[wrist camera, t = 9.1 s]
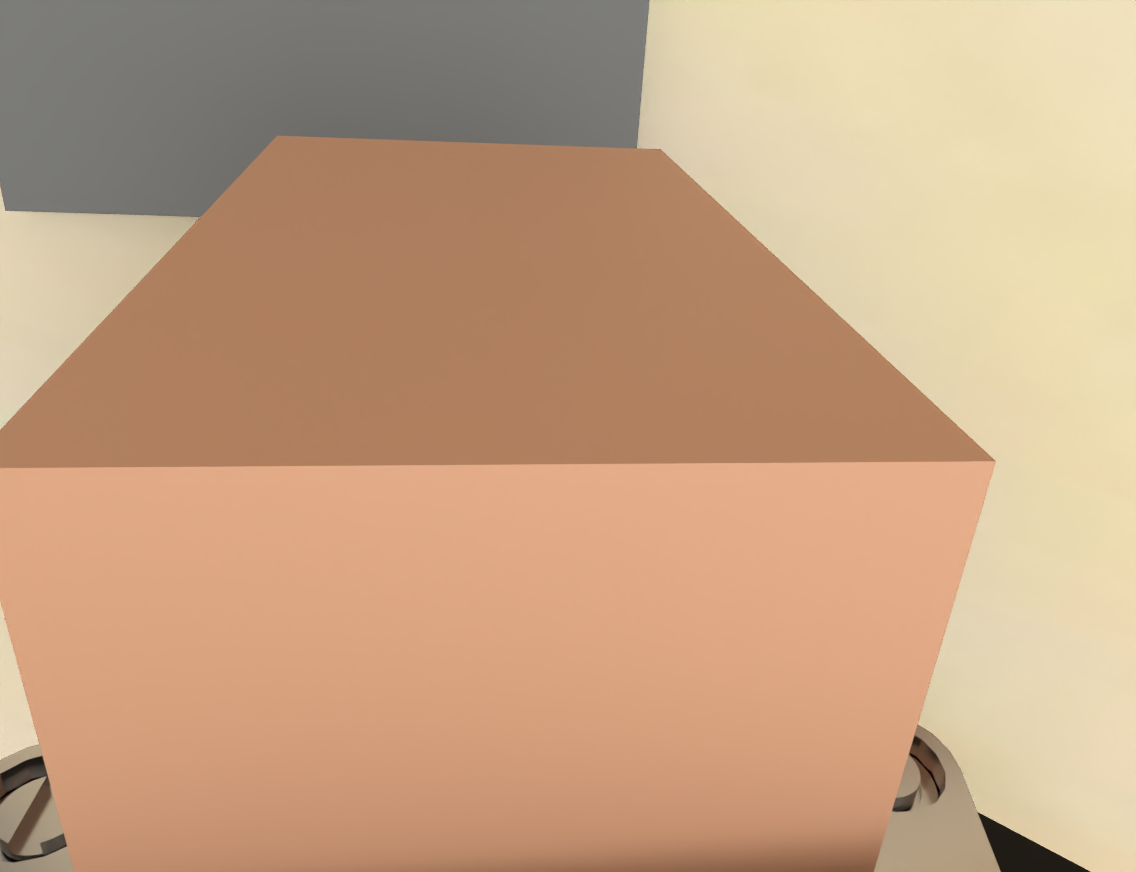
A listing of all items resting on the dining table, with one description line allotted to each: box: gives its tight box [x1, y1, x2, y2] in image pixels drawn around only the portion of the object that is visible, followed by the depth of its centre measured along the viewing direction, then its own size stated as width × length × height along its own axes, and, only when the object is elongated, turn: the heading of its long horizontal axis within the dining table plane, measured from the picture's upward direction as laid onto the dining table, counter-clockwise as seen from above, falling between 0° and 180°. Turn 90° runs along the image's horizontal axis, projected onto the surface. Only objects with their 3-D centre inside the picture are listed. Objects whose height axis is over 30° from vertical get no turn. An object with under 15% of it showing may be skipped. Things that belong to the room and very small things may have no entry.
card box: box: [0, 136, 996, 872], centre depth 9 cm, size 4×10×7 cm, turn 177°
